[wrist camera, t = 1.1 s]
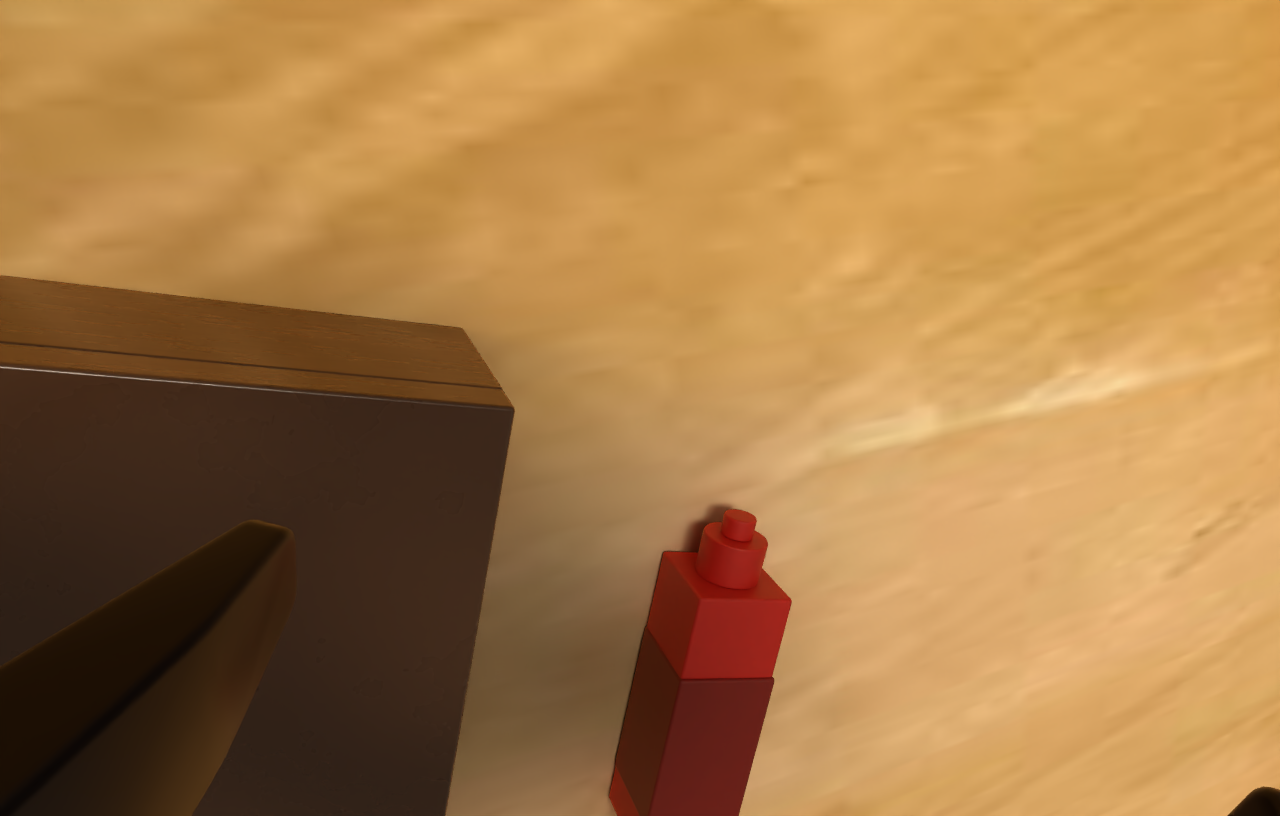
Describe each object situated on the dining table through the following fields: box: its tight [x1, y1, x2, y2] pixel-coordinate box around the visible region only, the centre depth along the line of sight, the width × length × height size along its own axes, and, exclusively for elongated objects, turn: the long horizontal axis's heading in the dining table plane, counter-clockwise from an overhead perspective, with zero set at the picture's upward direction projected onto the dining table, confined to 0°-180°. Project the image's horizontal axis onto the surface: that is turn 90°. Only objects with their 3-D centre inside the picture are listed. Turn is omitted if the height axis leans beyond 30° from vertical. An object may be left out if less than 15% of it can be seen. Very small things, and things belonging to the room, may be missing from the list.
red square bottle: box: [609, 509, 792, 816], centre depth 29 cm, size 10×3×3 cm, turn 168°
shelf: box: [0, 276, 515, 816], centre depth 21 cm, size 16×13×9 cm
